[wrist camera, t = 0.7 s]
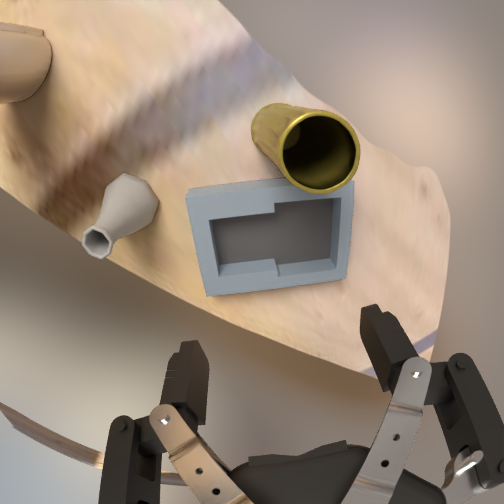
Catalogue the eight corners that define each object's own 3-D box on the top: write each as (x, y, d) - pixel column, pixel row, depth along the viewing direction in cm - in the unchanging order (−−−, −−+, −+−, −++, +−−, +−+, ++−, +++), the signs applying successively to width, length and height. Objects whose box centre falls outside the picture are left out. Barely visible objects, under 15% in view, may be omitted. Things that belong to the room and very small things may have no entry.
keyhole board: (189, 189, 30) (185, 197, 27) (344, 174, 30) (354, 181, 28) (207, 282, 36) (206, 296, 34) (338, 266, 37) (345, 278, 34)
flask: (170, 199, 30) (148, 240, 22) (137, 241, 32) (111, 290, 24) (123, 161, 27) (82, 188, 19) (94, 207, 30) (54, 247, 21)
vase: (302, 160, 29) (356, 206, 17) (248, 154, 28) (264, 197, 16) (310, 107, 26) (374, 115, 14) (253, 100, 25) (276, 95, 13)
